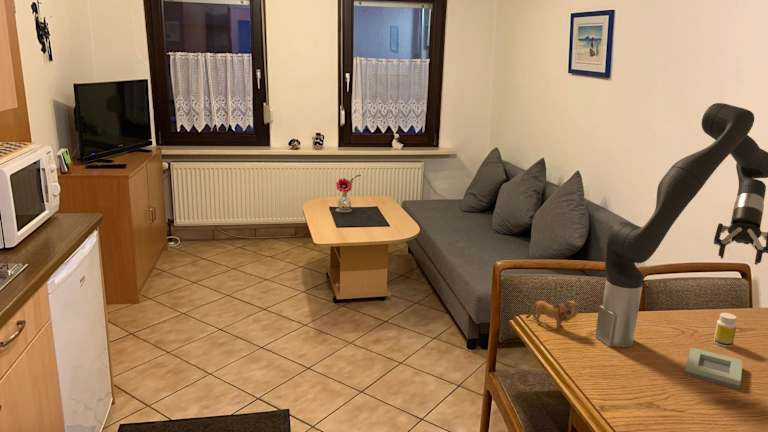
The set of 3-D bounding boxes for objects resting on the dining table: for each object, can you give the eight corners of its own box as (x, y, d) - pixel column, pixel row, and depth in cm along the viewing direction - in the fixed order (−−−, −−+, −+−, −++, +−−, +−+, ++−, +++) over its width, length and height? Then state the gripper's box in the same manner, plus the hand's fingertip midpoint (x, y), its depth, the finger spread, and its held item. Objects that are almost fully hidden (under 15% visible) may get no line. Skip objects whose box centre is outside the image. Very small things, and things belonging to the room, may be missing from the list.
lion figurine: (577, 328, 176) (581, 299, 174) (572, 335, 172) (576, 306, 169) (527, 316, 184) (530, 288, 181) (521, 322, 179) (524, 294, 177)
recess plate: (739, 389, 148) (740, 381, 147) (684, 374, 153) (685, 366, 153) (740, 367, 158) (742, 360, 157) (689, 354, 163) (690, 347, 163)
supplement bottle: (734, 348, 168) (740, 320, 165) (716, 346, 168) (721, 318, 166) (729, 340, 172) (734, 313, 170) (710, 338, 173) (716, 311, 171)
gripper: (721, 201, 181) (711, 249, 175) (778, 209, 174) (770, 259, 168) (719, 214, 187) (710, 261, 180) (774, 222, 180) (766, 271, 174)
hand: (739, 260), depth 174 cm, fingers open, 8 cm apart
